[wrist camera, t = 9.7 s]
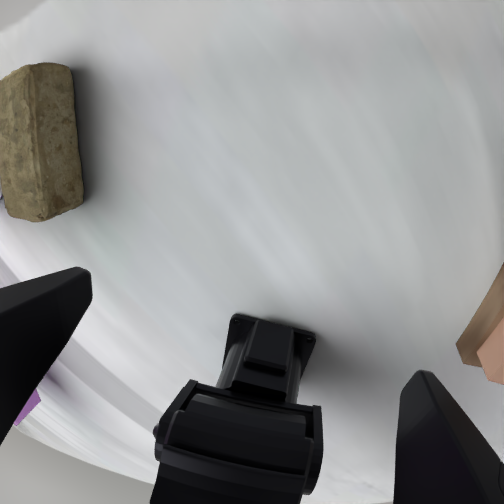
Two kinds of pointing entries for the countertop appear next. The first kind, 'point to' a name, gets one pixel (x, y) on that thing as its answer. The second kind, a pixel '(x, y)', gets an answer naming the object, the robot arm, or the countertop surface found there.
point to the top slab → (493, 355)
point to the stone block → (39, 143)
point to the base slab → (483, 322)
